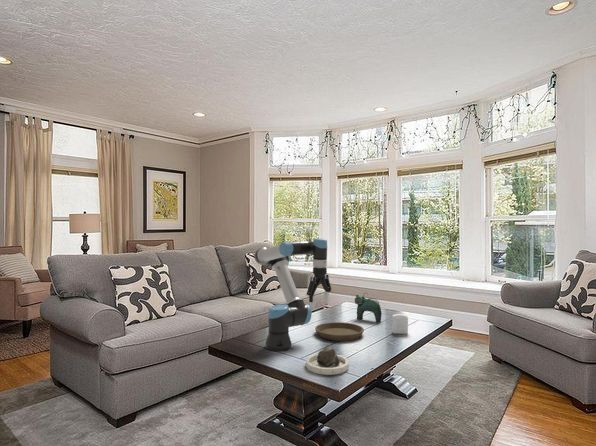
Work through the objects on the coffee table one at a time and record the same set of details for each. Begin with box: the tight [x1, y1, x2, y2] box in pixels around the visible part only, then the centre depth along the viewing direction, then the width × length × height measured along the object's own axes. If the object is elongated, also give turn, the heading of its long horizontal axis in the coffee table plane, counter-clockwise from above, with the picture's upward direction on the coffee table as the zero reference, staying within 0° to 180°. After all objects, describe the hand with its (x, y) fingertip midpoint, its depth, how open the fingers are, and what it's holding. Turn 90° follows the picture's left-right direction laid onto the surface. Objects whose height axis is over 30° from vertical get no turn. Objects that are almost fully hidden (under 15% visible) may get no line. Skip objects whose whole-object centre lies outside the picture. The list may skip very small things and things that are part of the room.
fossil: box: [317, 347, 340, 368], centre depth 186 cm, size 11×9×10 cm
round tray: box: [305, 353, 350, 376], centre depth 186 cm, size 21×21×3 cm
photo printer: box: [391, 313, 409, 335], centre depth 242 cm, size 10×4×12 cm, turn 84°
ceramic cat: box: [354, 292, 382, 323], centre depth 275 cm, size 20×6×20 cm, turn 55°
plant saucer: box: [314, 321, 365, 342], centre depth 239 cm, size 31×31×5 cm
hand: (319, 305), depth 204 cm, fingers open, 13 cm apart
